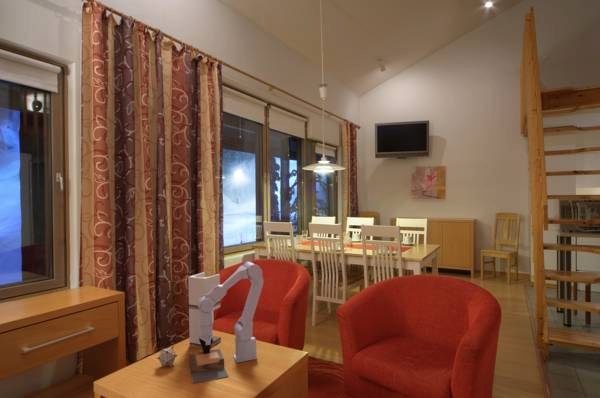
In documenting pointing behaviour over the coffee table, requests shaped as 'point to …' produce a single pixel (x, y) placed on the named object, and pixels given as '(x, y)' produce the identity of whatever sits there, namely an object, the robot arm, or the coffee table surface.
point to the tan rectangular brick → (207, 358)
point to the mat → (209, 375)
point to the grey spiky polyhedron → (167, 357)
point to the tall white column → (197, 289)
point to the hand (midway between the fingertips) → (206, 355)
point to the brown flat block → (210, 366)
